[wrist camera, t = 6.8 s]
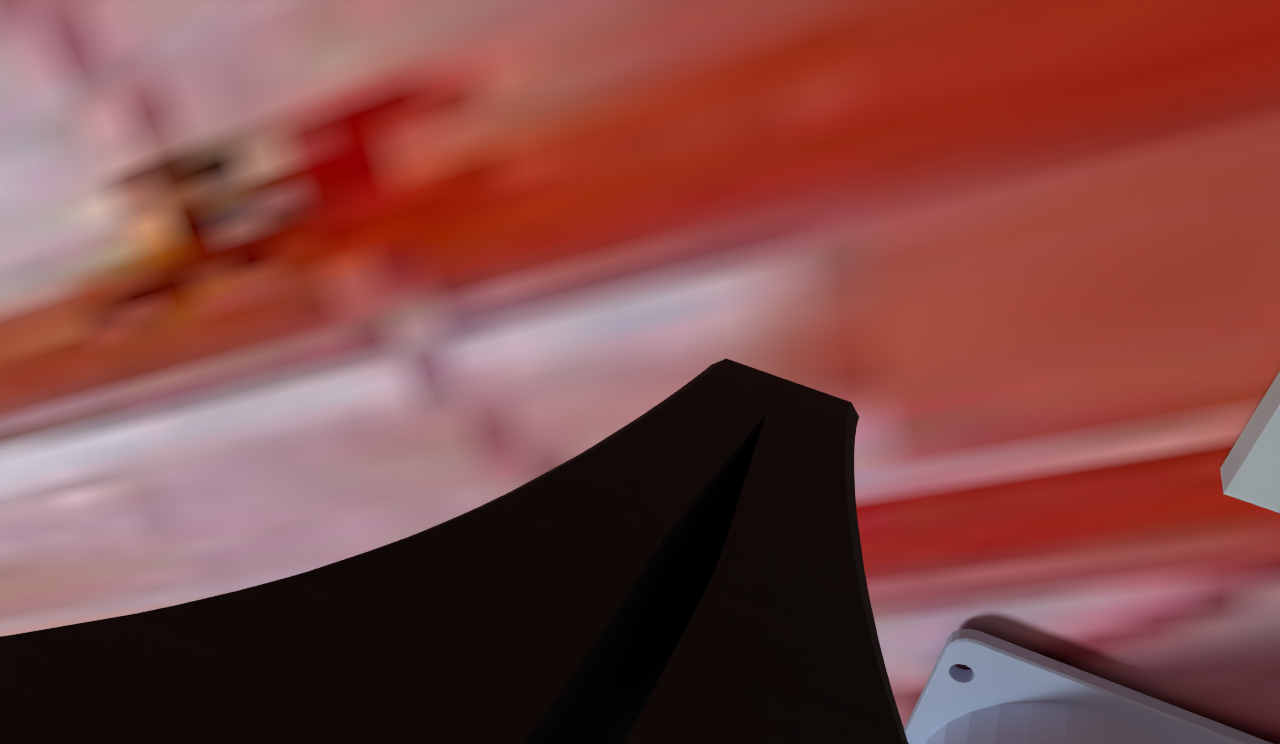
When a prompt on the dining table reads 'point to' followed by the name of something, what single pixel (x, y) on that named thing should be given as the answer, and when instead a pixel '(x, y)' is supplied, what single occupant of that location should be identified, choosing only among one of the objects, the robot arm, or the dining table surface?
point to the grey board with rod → (1257, 456)
